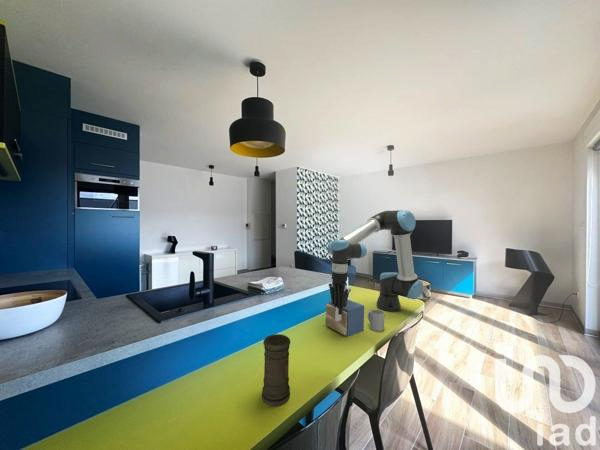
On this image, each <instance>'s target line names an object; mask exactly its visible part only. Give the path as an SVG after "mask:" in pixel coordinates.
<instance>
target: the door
mask: <svg viewBox="0 0 600 450" xmlns="http://www.w3.org/2000/svg"><path fill="white" fill-rule="evenodd" d="M325 311H326V312H325V326H327V327H329V328H331V329H332V330H334V331H336V332H337V333H340V334H341V335H343V336H345V335H347V312H345V311H343V310H342V316H341V320H340V321H336V320H335V307H334V306H332V305H329V303H327V304H325Z"/></svg>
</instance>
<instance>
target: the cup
mask: <svg viewBox="0 0 600 450" xmlns="http://www.w3.org/2000/svg"><path fill="white" fill-rule="evenodd" d="M367 319H368V320H367V321H368V323H369V328H370V330H372V331H374V332H379V333H380V332H383V331H384V330H385V310H381V309H376V308H375V309H370V310H369V311H368V313H367Z"/></svg>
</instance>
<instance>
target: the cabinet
mask: <svg viewBox="0 0 600 450" xmlns="http://www.w3.org/2000/svg"><path fill="white" fill-rule="evenodd" d="M328 304H329V305H332V306H334V304H332V301H328ZM334 307H335V306H334ZM343 311H345V312H347V335H344V336H345V337H350V336H353V335H356V334H359V333H361V332H364V330H365V329H364V328H365V325H364V323H365V305H363V304H361V303H358V302H356V301H353V300H350V299H348V300H347V304H346V307H343Z"/></svg>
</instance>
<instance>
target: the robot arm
mask: <svg viewBox="0 0 600 450" xmlns="http://www.w3.org/2000/svg"><path fill="white" fill-rule="evenodd" d="M416 223H417V222H416V217H415V215H414V213H412V212H411V211H410V210H402V209H399V210H398V209H397V210H396V209H395V210H384V211H381V212H379V213H377V214H374V215H373V216H371V217H369V218H368V219H367V221H365V222H364V223H363V224H361V225H360V226H359V227H357V228H355V229H353V230H352V231H351V232H349V233H347V234H346V235H344V236H342V237H341V238H339V239H334V240H331V241H329V242H328V243H327V252H328V253H330V254H331V255H332V257H331V261H332V262H331V271H332V272H331V280H332V281H331V283H329V284H328V288H329V292H330V300H331V301H332V304H334V306H335V320H336V321H340V320H341V316H342V310H343V307H346V304H347V300H349V297H350V296H349V295H350V293H351V288H349V287H348V284H347V281H348V268H349V265H348V264H349V260H353V259H362V258H364V257H366V255H367V252H368V249H367V247H366V245H365V244H364V243H361V242H362V241H363V240H365V239H366V238H368V237H370V236H371V235H372V234H374V233H378V232H380V231H383V230H385V231H386V230H387V231H390V234H391V236H393V239H394V246H395V254H396V261H397V262H396V263H397V268H398V272H392V271H391V272H389V271H388V272H382V273H381V274H380V276H379V295H378V299H377V301H376V308H378V310H381V311H384V312H385V311H386V312H393V313H395V312H400V311H402V304H401V303H400V302H401V301H400V298H399V296H400V297H404V298H407V299H410V300H417V299H419V298H420V297H421V295H422V294H423V290H424V283H423V281H422V280H420V279H419V278H418V277H419V276H418V275H417V274H416V273H415V268H414V259H413V251H412V243H411V234H412V233H413V231H414V229H415V228H416ZM331 301H330V302H331Z"/></svg>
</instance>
